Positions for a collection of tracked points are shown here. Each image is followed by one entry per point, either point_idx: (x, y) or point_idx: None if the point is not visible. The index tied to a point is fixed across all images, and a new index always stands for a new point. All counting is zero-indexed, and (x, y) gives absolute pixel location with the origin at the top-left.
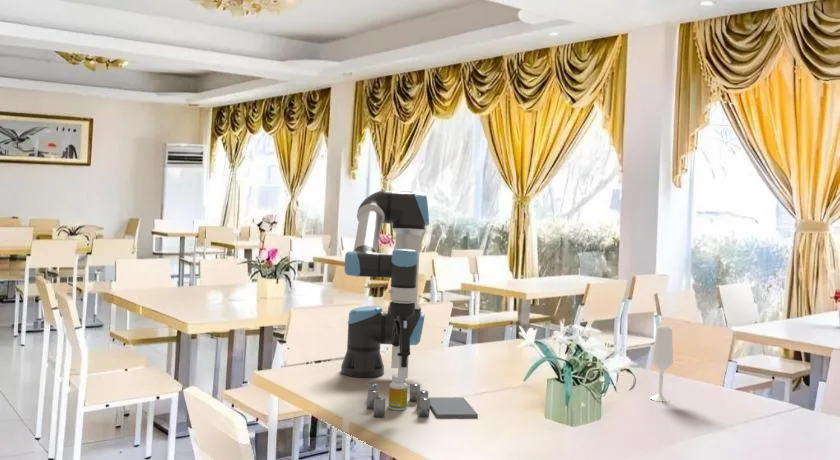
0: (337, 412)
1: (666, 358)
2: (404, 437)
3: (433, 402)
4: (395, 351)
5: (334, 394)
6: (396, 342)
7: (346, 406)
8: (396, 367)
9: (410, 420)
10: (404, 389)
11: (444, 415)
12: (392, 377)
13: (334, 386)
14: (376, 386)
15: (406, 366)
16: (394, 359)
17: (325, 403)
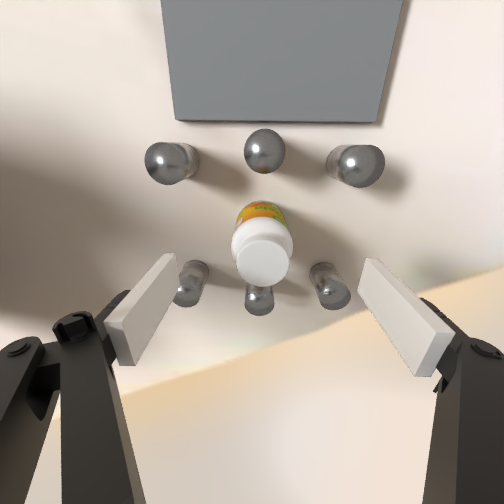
0: (284, 339)
1: None
2: (489, 244)
3: (237, 102)
4: (144, 328)
5: (155, 334)
6: (112, 377)
7: (244, 322)
8: (176, 270)
9: (371, 208)
10: (288, 230)
11: (380, 93)
12: (265, 283)
13: None
14: (197, 288)
15: (427, 301)
16: (164, 300)
17: (223, 351)
